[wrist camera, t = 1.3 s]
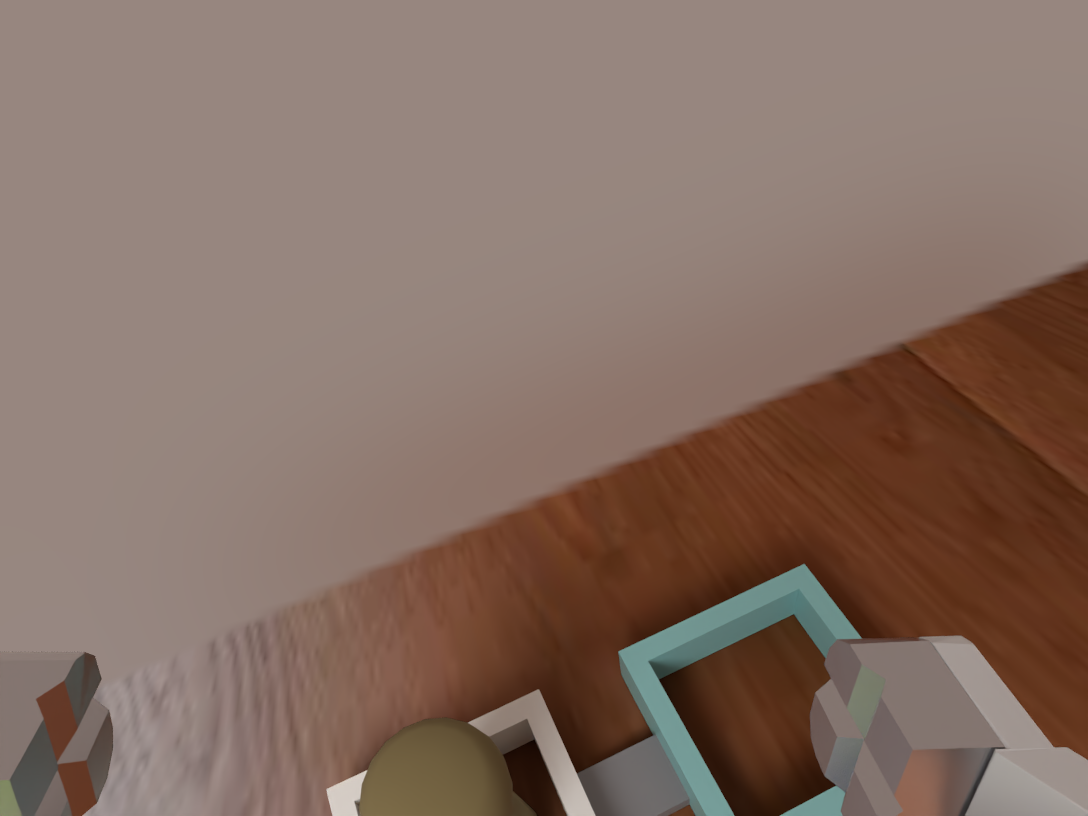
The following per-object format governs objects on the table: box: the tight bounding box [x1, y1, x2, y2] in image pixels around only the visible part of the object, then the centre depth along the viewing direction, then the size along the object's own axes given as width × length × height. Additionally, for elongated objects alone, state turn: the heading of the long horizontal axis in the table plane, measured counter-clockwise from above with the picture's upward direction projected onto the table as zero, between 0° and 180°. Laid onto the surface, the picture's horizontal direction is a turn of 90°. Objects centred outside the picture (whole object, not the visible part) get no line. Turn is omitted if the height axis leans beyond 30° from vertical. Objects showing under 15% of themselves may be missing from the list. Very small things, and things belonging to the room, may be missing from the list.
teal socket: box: [618, 564, 862, 816], centre depth 37 cm, size 10×10×2 cm
